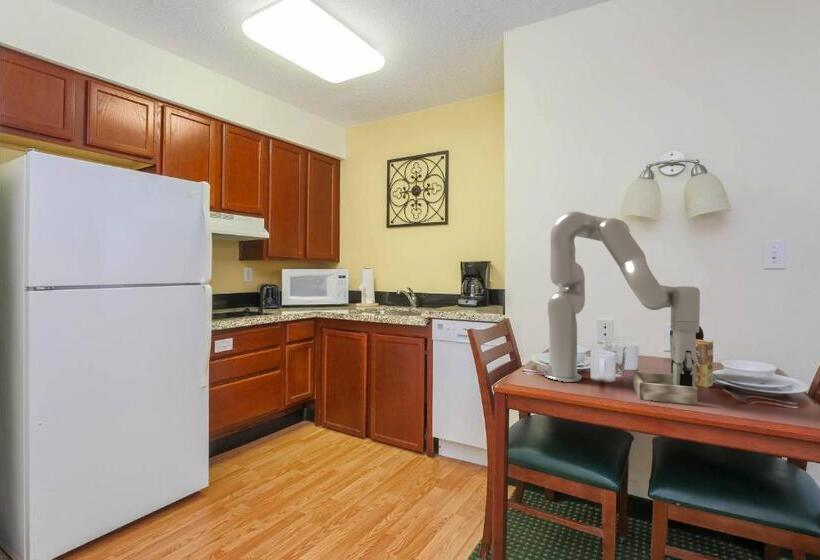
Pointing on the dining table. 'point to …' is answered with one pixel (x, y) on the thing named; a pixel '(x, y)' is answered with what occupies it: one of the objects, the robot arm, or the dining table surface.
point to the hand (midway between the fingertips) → (683, 384)
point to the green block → (678, 371)
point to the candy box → (704, 363)
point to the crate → (662, 388)
